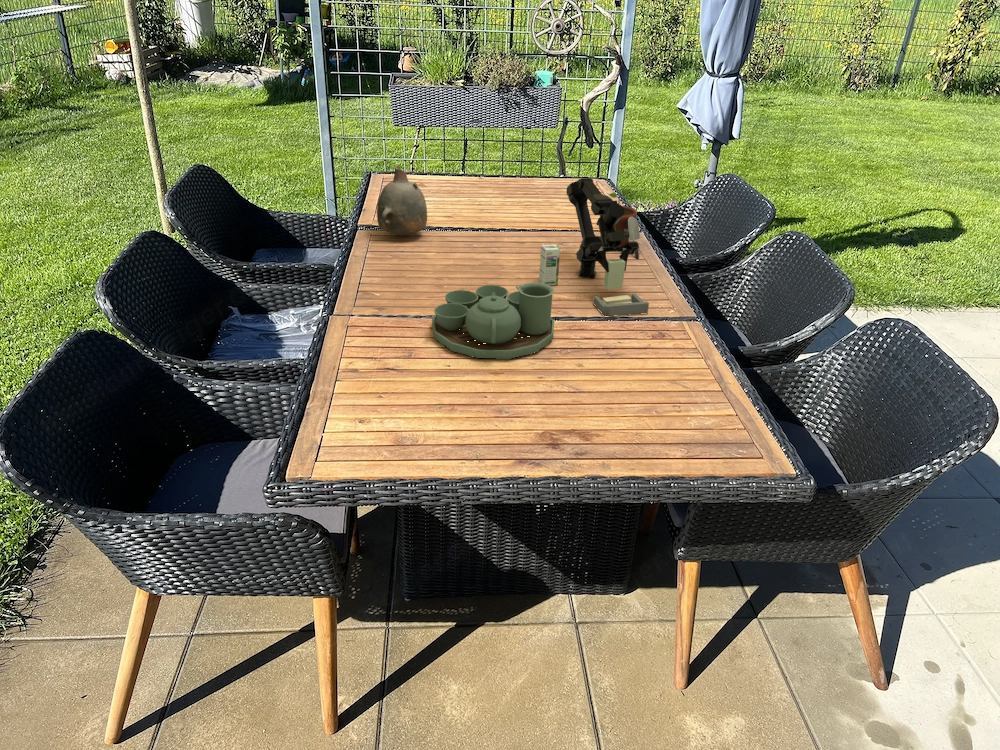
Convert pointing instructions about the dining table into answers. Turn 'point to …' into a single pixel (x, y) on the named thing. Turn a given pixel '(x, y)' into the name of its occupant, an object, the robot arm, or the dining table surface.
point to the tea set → (496, 321)
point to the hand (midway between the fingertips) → (616, 271)
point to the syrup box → (549, 264)
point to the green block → (614, 274)
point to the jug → (401, 206)
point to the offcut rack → (621, 305)
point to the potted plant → (628, 223)
